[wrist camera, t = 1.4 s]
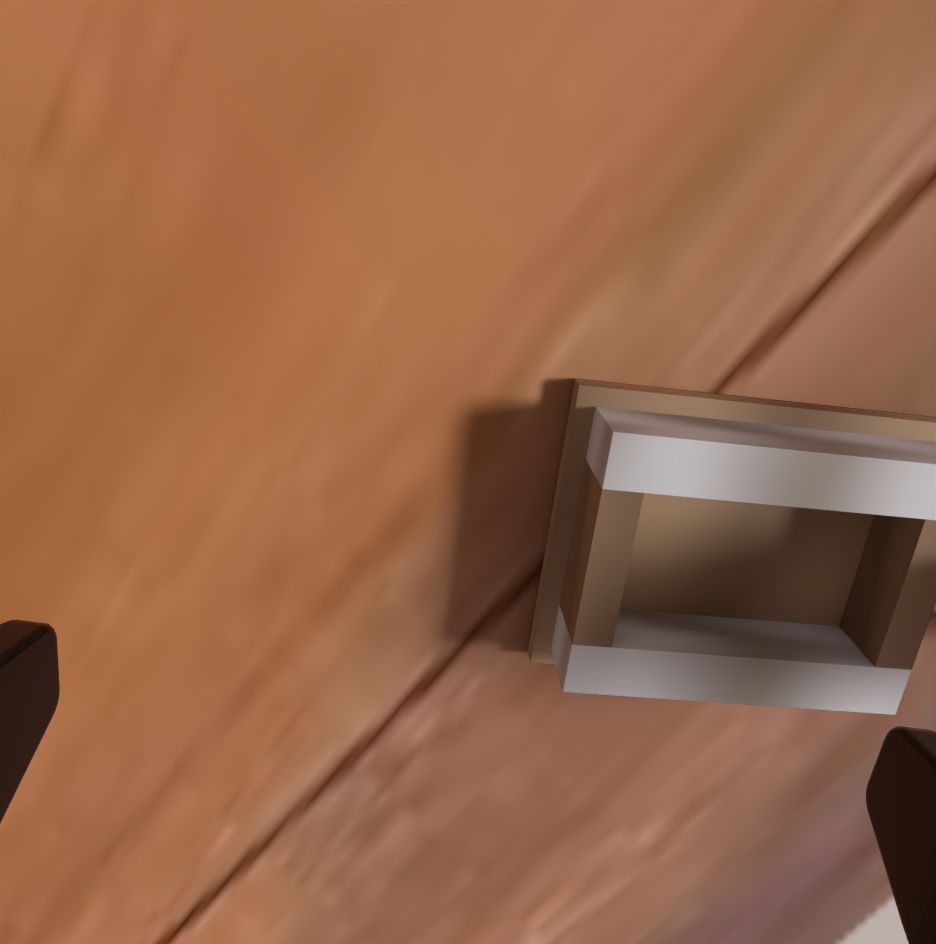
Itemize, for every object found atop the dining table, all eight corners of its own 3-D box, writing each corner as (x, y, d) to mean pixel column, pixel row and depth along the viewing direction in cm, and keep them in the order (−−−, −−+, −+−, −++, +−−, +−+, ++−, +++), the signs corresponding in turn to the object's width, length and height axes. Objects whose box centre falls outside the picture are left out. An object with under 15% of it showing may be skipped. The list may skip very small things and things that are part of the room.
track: (527, 650, 24) (540, 707, 22) (574, 378, 21) (595, 408, 19) (859, 674, 25) (907, 731, 23) (945, 418, 22) (1010, 451, 20)
